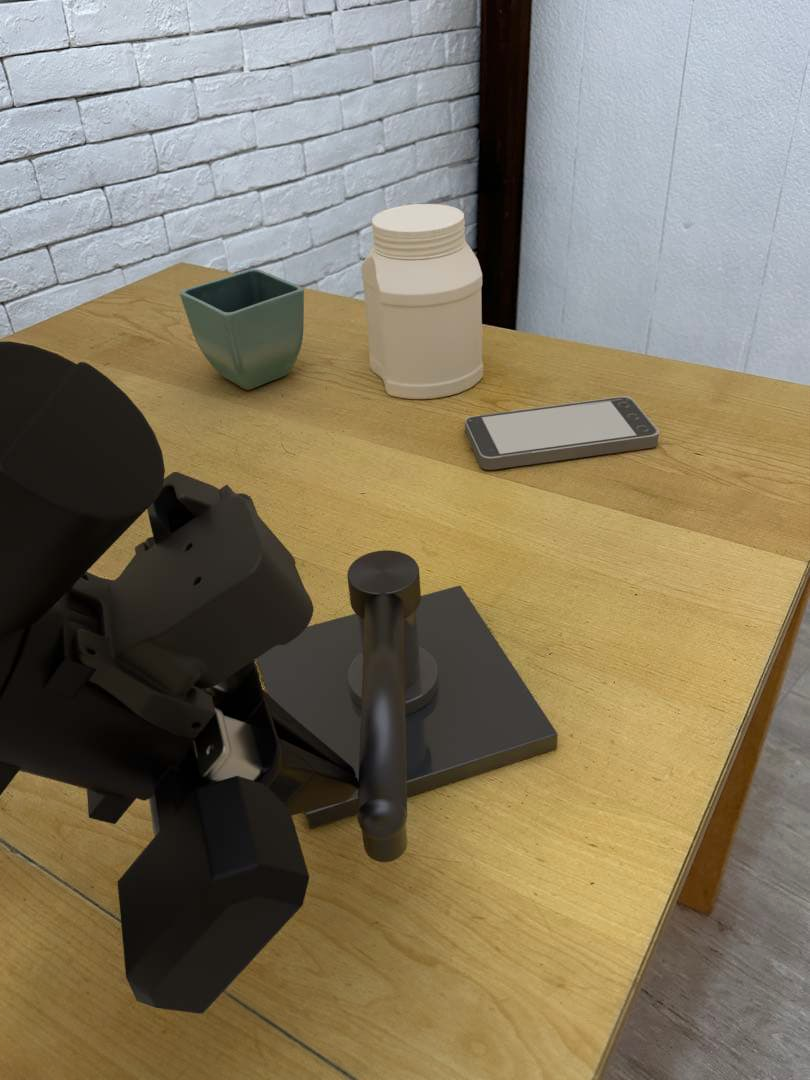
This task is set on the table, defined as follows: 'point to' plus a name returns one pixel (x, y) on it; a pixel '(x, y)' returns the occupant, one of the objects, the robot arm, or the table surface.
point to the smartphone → (559, 432)
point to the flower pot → (247, 325)
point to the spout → (383, 696)
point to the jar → (423, 302)
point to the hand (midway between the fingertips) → (351, 785)
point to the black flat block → (414, 695)
